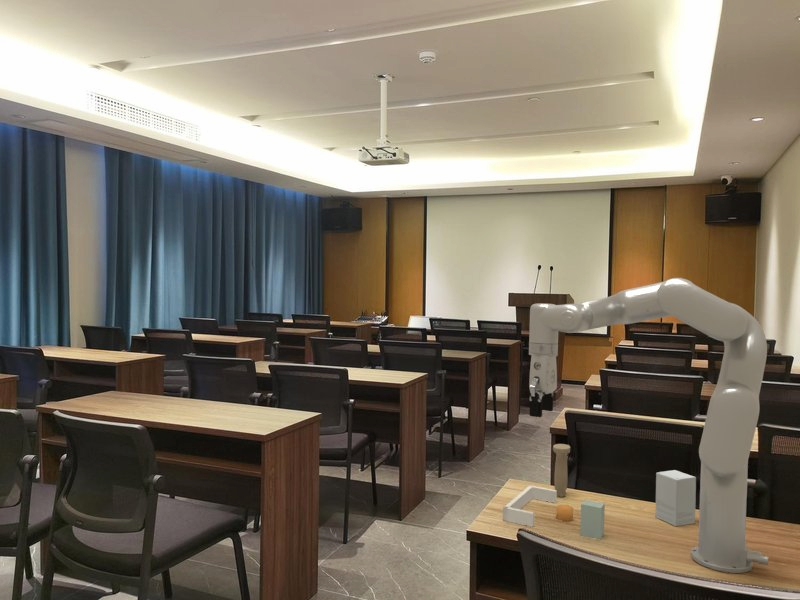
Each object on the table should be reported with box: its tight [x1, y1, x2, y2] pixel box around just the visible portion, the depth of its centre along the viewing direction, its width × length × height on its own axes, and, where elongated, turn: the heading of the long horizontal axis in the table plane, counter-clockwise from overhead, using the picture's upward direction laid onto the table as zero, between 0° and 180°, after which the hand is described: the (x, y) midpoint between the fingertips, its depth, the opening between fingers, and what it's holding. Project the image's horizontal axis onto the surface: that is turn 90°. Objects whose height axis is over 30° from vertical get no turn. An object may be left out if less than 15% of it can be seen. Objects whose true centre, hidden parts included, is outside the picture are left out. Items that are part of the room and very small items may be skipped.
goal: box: [502, 484, 558, 528], centre depth 169 cm, size 8×22×4 cm, turn 150°
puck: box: [555, 504, 574, 522], centre depth 164 cm, size 4×4×3 cm
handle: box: [552, 443, 571, 498], centre depth 182 cm, size 5×6×15 cm
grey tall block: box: [579, 499, 606, 541], centre depth 153 cm, size 5×4×8 cm
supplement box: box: [655, 469, 697, 527], centre depth 164 cm, size 7×7×13 cm
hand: (541, 413), depth 160 cm, fingers open, 9 cm apart
